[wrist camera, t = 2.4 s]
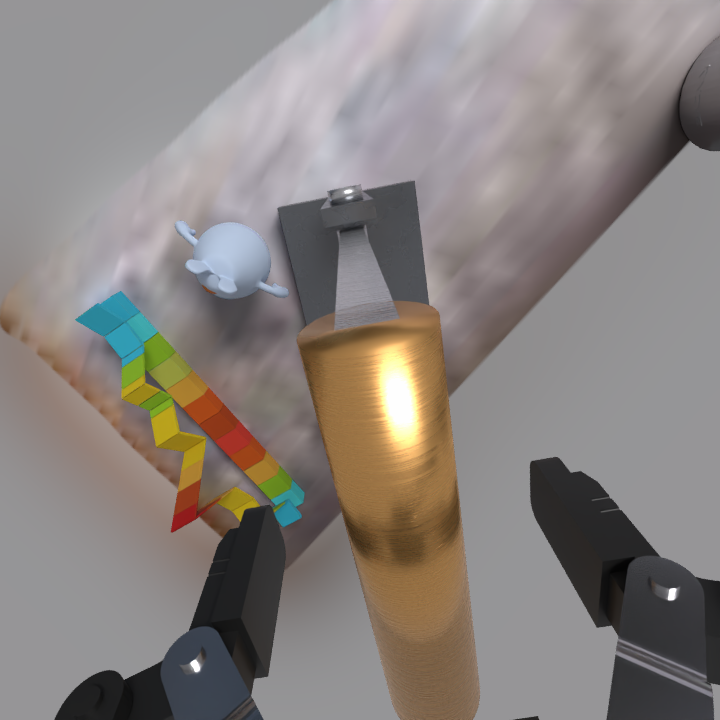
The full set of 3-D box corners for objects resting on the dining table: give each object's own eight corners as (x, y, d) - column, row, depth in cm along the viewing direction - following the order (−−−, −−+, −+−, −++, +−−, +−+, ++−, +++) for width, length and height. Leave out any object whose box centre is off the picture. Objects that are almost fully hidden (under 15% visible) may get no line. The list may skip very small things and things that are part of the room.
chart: (98, 307, 41) (-24, 373, 27) (122, 290, 40) (8, 348, 27) (283, 502, 52) (262, 619, 38) (304, 491, 51) (290, 605, 38)
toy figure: (178, 246, 39) (113, 274, 28) (209, 188, 37) (153, 192, 26) (277, 309, 41) (253, 356, 30) (310, 257, 39) (298, 288, 28)
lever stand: (409, 171, 37) (454, 166, 22) (431, 350, 44) (475, 436, 29) (278, 197, 37) (236, 210, 23) (320, 370, 44) (309, 465, 30)
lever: (374, 221, 26) (456, 337, 7) (403, 399, 31) (492, 732, 12) (327, 231, 26) (288, 367, 7) (364, 406, 31) (394, 746, 13)
